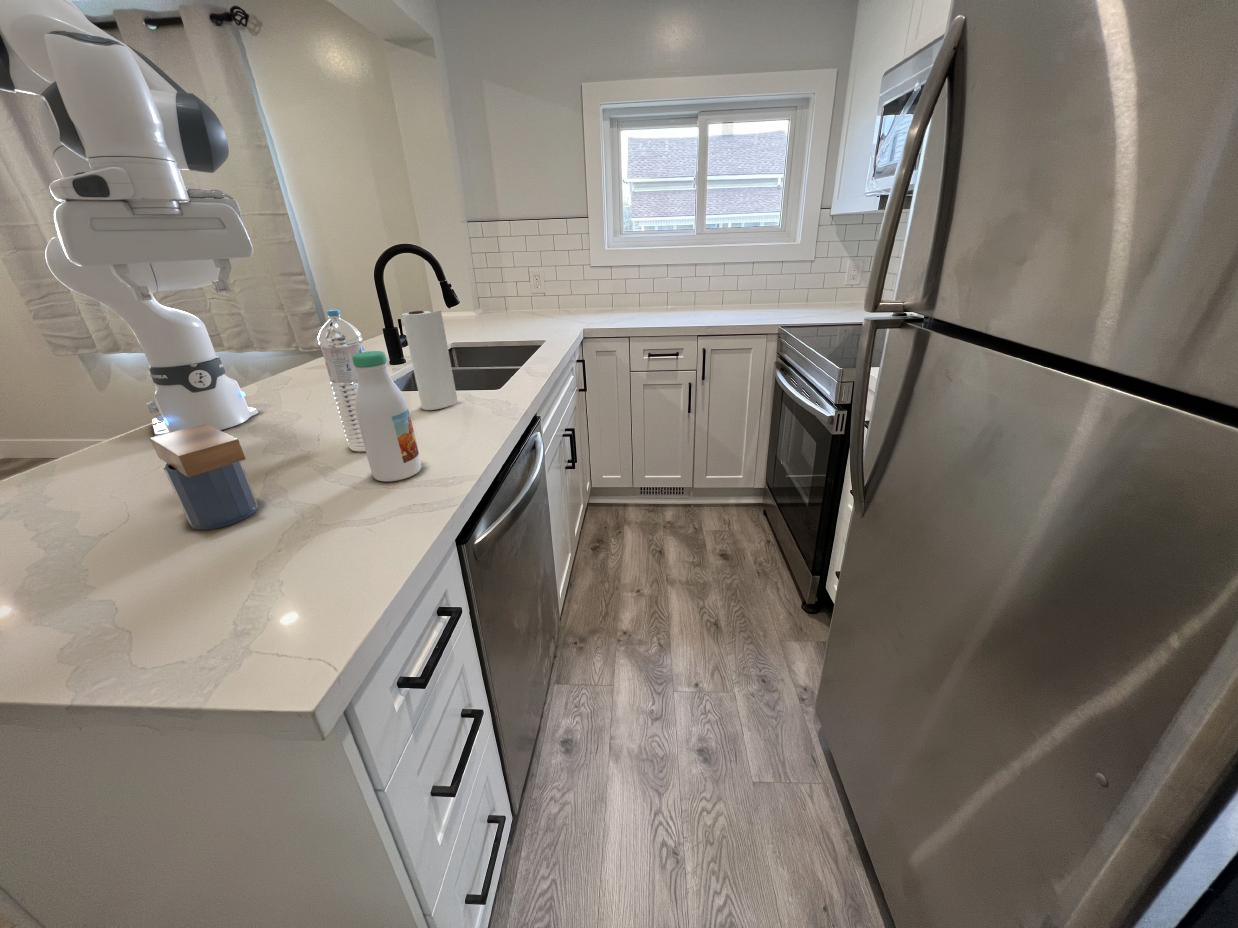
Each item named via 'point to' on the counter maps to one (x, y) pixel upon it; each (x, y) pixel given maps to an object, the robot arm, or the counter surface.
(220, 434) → the wooden block
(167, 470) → the cup
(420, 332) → the paper towel roll
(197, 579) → the counter surface
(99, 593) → the counter surface
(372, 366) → the milk bottle
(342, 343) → the water bottle
